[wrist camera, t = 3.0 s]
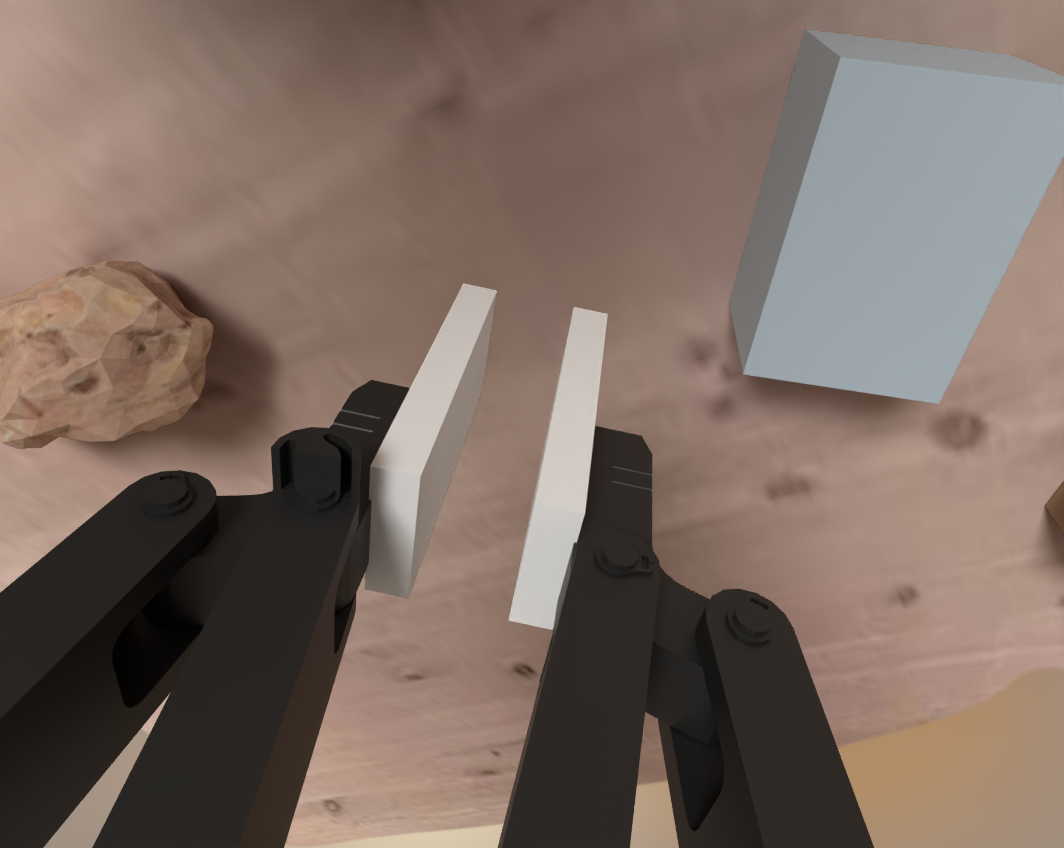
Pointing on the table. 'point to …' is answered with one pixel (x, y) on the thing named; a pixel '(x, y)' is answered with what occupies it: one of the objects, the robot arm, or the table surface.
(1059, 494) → the stop board
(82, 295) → the rock
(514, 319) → the table surface
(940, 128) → the block
